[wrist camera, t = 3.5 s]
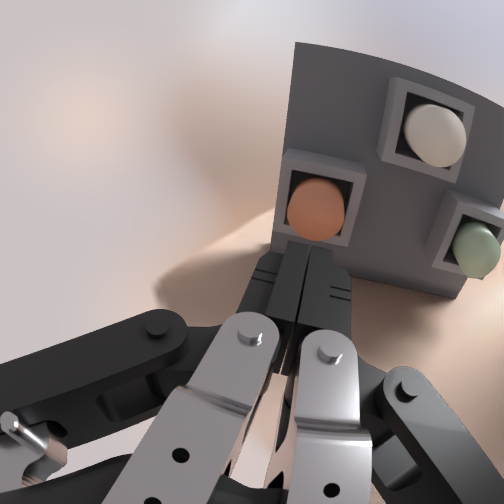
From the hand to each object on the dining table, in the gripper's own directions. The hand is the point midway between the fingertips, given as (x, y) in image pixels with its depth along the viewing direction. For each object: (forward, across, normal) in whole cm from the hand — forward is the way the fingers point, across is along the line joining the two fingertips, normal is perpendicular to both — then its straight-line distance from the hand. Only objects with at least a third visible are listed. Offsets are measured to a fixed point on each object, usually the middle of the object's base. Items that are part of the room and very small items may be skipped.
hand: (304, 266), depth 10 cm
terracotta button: (+12, 0, +5) cm, 13 cm away
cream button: (+11, -7, -3) cm, 14 cm away
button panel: (+15, -7, +11) cm, 20 cm away
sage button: (+12, -14, +5) cm, 19 cm away
